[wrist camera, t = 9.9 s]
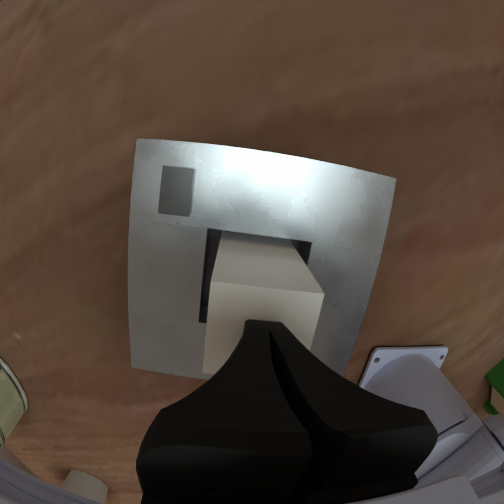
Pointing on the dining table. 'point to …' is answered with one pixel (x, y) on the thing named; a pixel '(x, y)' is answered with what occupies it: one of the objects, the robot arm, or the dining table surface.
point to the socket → (249, 222)
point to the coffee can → (10, 402)
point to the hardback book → (496, 390)
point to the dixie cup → (85, 486)
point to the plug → (257, 293)
